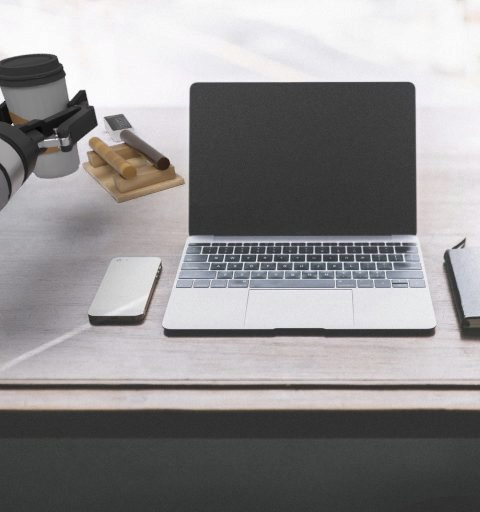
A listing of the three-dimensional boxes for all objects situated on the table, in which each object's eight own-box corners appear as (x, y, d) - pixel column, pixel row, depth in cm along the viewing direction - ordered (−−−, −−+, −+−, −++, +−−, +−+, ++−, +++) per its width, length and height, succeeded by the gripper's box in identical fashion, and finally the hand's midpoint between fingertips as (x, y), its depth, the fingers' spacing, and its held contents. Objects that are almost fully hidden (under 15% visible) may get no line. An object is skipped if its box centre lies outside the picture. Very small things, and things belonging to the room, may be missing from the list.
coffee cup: (99, 168, 86) (74, 58, 78) (42, 188, 81) (8, 72, 73) (70, 154, 91) (43, 49, 83) (14, 172, 86) (-20, 62, 78)
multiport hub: (114, 142, 128) (112, 131, 127) (104, 126, 136) (102, 116, 135) (135, 138, 130) (133, 127, 128) (125, 123, 138) (123, 113, 137)
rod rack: (184, 183, 109) (180, 153, 106) (118, 202, 103) (111, 171, 100) (143, 152, 123) (138, 125, 120) (83, 167, 117) (76, 139, 114)
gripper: (-99, 202, 68) (-18, 131, 87) (97, 190, 69) (134, 123, 88) (-127, 137, 64) (-36, 78, 83) (81, 125, 65) (123, 69, 84)
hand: (51, 101), depth 86 cm, fingers closed on coffee cup, 8 cm apart
